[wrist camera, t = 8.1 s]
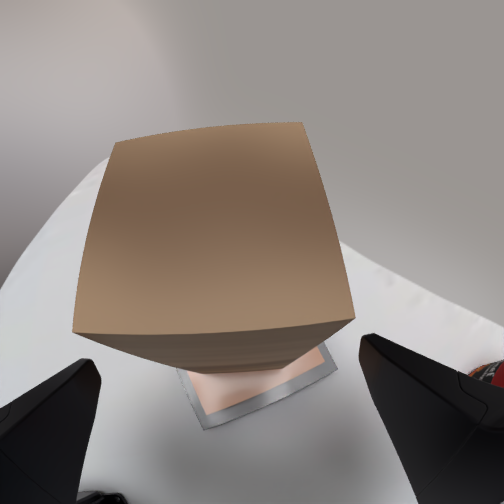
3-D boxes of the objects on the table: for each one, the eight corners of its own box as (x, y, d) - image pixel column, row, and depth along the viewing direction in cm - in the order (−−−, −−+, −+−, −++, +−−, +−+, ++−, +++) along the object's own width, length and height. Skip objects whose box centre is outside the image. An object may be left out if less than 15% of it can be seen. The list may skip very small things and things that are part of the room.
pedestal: (331, 370, 19) (345, 367, 16) (207, 426, 17) (198, 434, 14) (272, 261, 23) (275, 240, 20) (160, 308, 21) (144, 294, 18)
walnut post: (282, 368, 16) (355, 317, 4) (200, 373, 16) (72, 332, 4) (274, 292, 18) (302, 122, 7) (198, 297, 18) (115, 142, 6)
